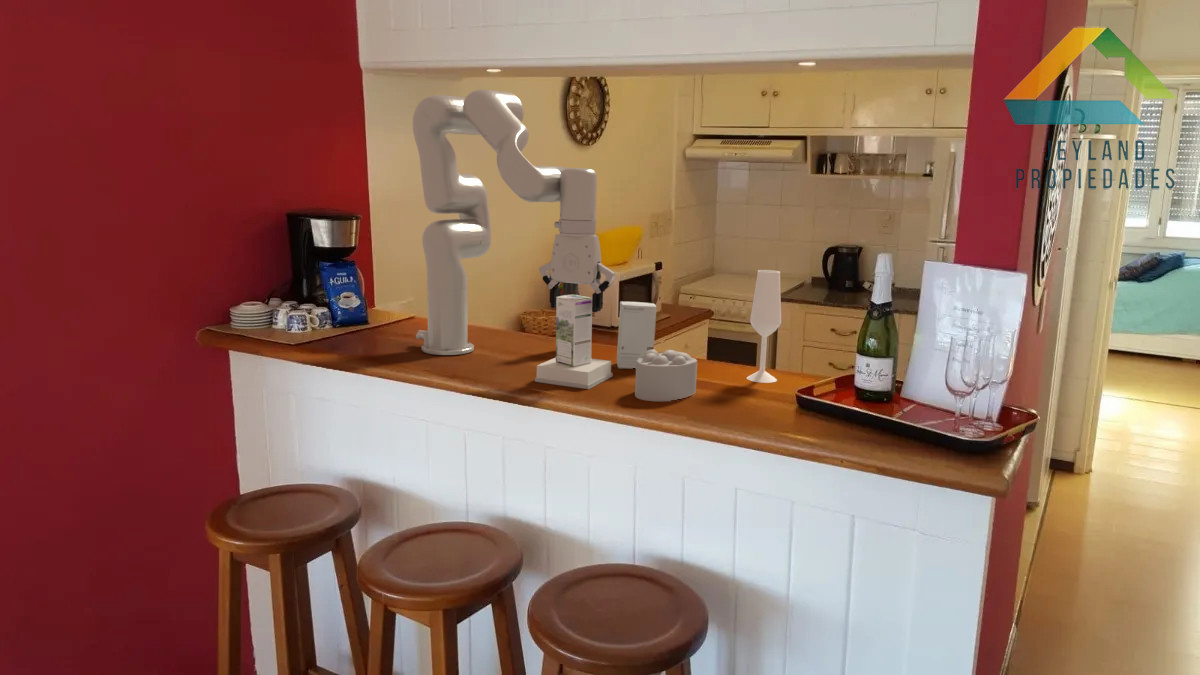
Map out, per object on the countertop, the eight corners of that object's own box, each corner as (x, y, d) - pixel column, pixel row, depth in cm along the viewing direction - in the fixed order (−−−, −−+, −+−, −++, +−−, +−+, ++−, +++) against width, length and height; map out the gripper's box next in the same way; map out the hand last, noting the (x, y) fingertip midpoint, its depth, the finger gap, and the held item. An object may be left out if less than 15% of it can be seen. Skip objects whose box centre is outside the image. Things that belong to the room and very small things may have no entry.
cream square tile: (534, 381, 184) (534, 365, 183) (561, 369, 195) (561, 354, 194) (588, 389, 179) (588, 372, 178) (612, 376, 190) (612, 360, 190)
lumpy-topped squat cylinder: (702, 394, 178) (704, 353, 176) (660, 405, 169) (662, 362, 167) (664, 384, 185) (666, 344, 183) (622, 394, 176) (623, 352, 174)
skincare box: (617, 369, 197) (619, 304, 194) (616, 362, 203) (618, 300, 200) (654, 369, 198) (657, 305, 195) (651, 363, 204) (654, 301, 201)
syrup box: (592, 363, 187) (594, 296, 184) (572, 367, 182) (574, 299, 180) (573, 358, 191) (575, 293, 188) (554, 362, 186) (555, 295, 184)
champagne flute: (781, 382, 189) (789, 273, 184) (752, 383, 188) (759, 273, 183) (770, 375, 196) (778, 269, 191) (742, 375, 194) (748, 269, 190)
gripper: (532, 227, 181) (531, 307, 184) (608, 231, 174) (606, 315, 177) (549, 225, 187) (547, 303, 191) (622, 229, 181) (620, 310, 184)
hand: (575, 309), depth 184 cm, fingers open, 9 cm apart
